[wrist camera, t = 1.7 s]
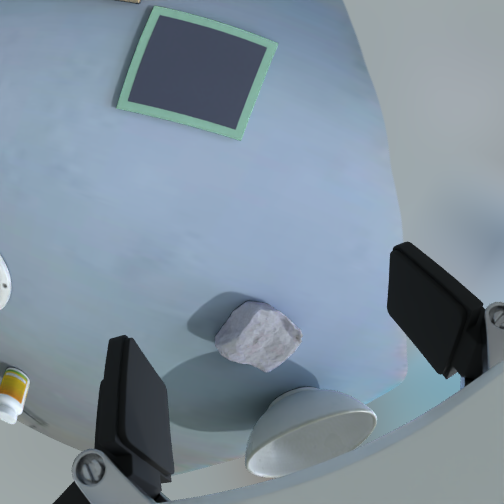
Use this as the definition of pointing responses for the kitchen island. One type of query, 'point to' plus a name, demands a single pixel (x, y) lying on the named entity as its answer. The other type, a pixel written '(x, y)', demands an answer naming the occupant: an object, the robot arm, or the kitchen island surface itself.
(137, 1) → the stamp
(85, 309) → the kitchen island surface
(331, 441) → the decorative bowl
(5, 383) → the supplement bottle
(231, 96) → the ink pad
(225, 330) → the stone block
